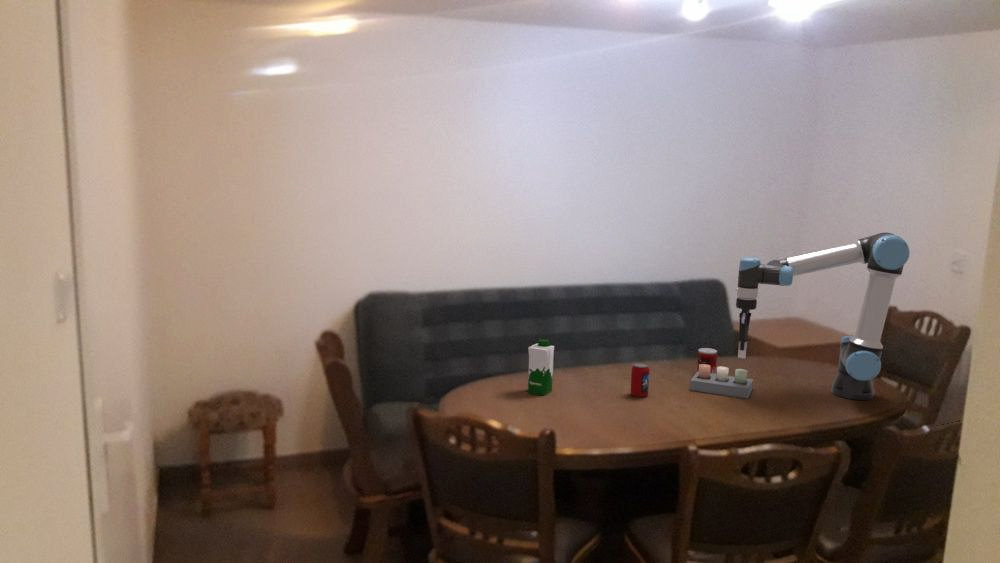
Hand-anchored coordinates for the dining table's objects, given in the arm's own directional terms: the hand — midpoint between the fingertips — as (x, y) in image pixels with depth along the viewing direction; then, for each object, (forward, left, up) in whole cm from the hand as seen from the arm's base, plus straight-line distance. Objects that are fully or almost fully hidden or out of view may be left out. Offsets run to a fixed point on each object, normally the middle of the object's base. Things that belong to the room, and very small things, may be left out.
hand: (741, 357), depth 301 cm
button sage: (0, 0, -10) cm, 10 cm away
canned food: (+16, -17, -14) cm, 27 cm away
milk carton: (+69, +38, -14) cm, 80 cm away
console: (+7, 0, -14) cm, 15 cm away
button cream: (+7, 0, -10) cm, 12 cm away
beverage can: (+34, +23, -14) cm, 43 cm away
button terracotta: (+14, 0, -10) cm, 17 cm away
